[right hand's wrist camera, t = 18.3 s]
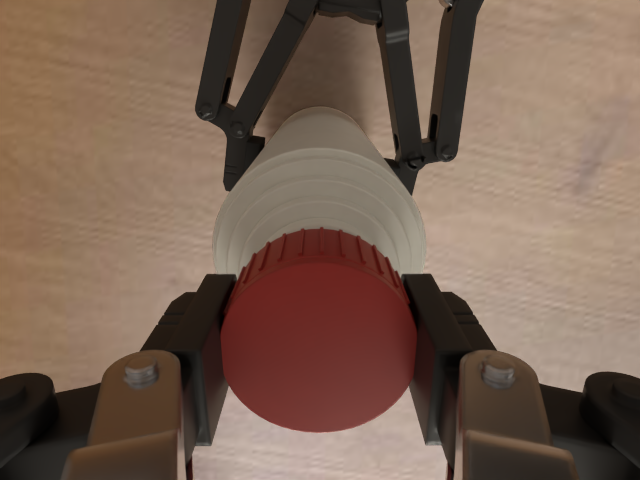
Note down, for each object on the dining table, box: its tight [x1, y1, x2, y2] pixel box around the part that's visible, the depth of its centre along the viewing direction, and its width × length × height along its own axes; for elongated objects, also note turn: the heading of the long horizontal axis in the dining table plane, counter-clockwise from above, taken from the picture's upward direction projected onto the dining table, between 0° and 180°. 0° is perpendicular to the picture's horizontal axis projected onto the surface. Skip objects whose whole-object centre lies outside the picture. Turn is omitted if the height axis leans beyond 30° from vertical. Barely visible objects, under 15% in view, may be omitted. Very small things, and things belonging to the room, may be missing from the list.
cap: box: [220, 227, 417, 433], centre depth 11 cm, size 4×4×2 cm
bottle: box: [212, 106, 426, 280], centre depth 22 cm, size 7×7×24 cm
